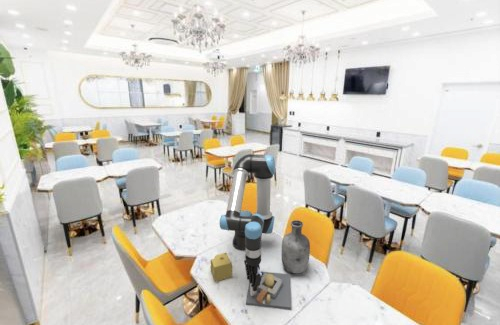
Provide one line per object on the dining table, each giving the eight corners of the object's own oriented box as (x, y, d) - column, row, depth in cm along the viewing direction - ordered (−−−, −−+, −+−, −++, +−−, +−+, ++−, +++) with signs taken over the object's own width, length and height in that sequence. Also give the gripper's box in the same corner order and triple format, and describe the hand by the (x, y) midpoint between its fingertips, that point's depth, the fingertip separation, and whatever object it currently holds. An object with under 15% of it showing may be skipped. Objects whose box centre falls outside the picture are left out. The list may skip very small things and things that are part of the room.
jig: (251, 272, 135) (251, 261, 133) (289, 276, 132) (290, 264, 130) (245, 304, 114) (245, 291, 112) (291, 309, 111) (291, 296, 109)
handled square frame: (264, 276, 130) (264, 272, 129) (283, 283, 124) (283, 279, 124) (249, 298, 116) (249, 294, 115) (269, 307, 110) (269, 303, 110)
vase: (275, 267, 139) (276, 222, 131) (292, 255, 149) (294, 213, 141) (296, 282, 128) (299, 234, 120) (313, 269, 137) (317, 223, 130)
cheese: (210, 270, 137) (209, 255, 135) (228, 265, 141) (227, 251, 138) (214, 283, 128) (213, 267, 125) (233, 277, 132) (232, 262, 129)
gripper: (239, 249, 114) (240, 289, 120) (254, 264, 103) (254, 307, 110) (251, 244, 118) (252, 282, 124) (268, 258, 108) (267, 299, 114)
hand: (253, 294), depth 117 cm, fingers closed
